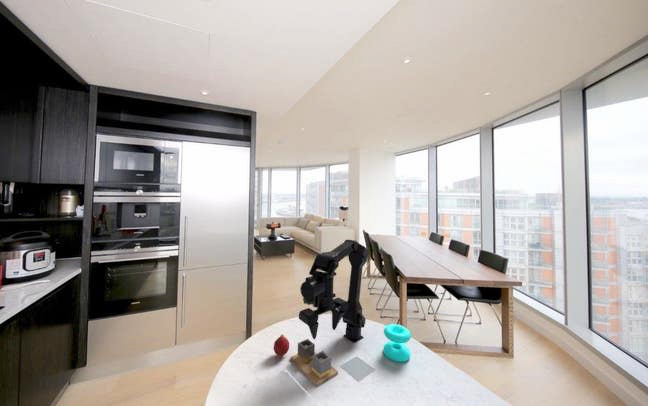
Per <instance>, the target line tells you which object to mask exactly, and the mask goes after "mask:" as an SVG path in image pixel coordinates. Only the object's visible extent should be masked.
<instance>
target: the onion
mask: <svg viewBox="0 0 648 406" xmlns="http://www.w3.org/2000/svg"><path fill="white" fill-rule="evenodd" d="M289 350H290V342H289V340H288V338H287V337H286V336H285V335H284V334H282V333H281V334H280V336H278V338H277V339H276V340H275V341H274V343H273V351H274V353H275V355H276V356H278V357H283V356H285V355H286V354H287V353H288V352H289Z"/></svg>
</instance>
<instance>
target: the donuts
mask: <svg viewBox="0 0 648 406" xmlns="http://www.w3.org/2000/svg"><path fill="white" fill-rule="evenodd" d="M383 333H384V336H385V338H386V339H388V341H387V342H385V344H384V345H383V348H382V350H383V354H384V355H385V356H386V357H387V358H388V359H389V360H391V361H393V362H397V363H404V362H407V361H408V360H410V357H411V351H410V349H409V348H408V347H407V346H406V345H405V344H406V343H408V342H409V341H410V340H411V338H412V335H411V332H410V330H409V329H408V328H406V327H405V326H403V325H401V324H396V323H391V324H388V325H386V326H385V327H384V328H383Z"/></svg>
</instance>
